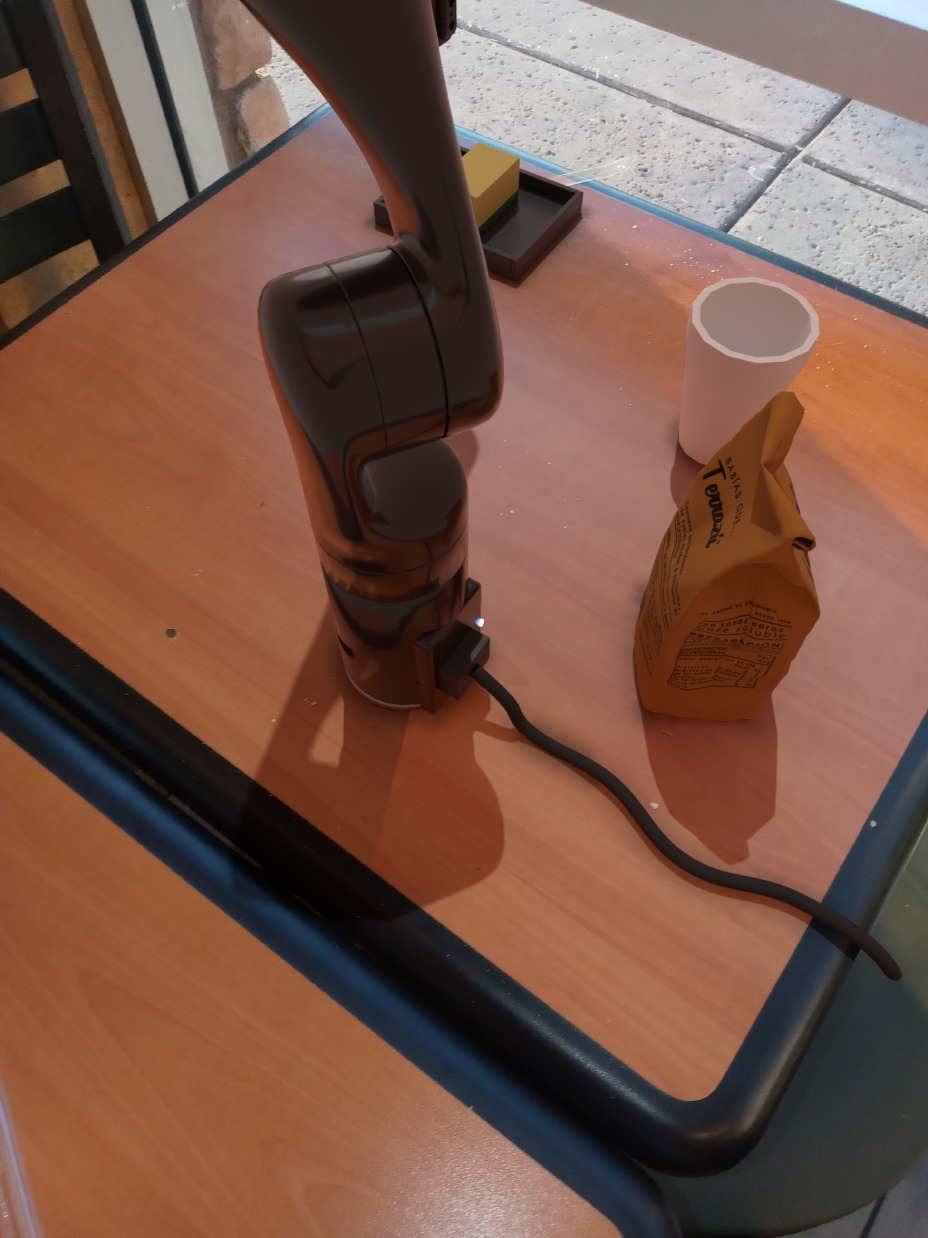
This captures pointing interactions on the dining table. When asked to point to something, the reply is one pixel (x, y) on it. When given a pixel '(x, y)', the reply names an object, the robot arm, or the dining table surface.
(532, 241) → the tray
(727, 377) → the foam cup
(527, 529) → the dining table surface
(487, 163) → the sponge
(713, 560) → the coffee package
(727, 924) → the dining table surface
